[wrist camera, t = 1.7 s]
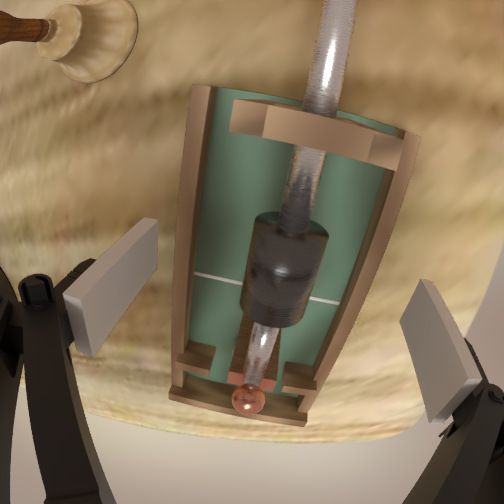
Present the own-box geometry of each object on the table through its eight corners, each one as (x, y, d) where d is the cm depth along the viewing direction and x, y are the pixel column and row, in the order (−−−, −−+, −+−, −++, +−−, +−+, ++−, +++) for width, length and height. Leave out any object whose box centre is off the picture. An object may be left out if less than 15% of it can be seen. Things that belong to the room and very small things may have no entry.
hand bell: (156, 34, 19) (-8, -5, 5) (86, 102, 22) (-76, 142, 8) (109, -22, 16) (-34, -67, 2) (47, 43, 19) (-98, 53, 5)
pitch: (179, 370, 35) (147, 456, 24) (205, 85, 21) (124, 79, 10) (304, 396, 34) (301, 487, 24) (405, 131, 20) (495, 167, 10)
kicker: (242, 306, 27) (215, 414, 17) (309, -30, 14) (318, -121, 4) (281, 314, 27) (271, 425, 17) (359, -18, 14) (407, -97, 4)
